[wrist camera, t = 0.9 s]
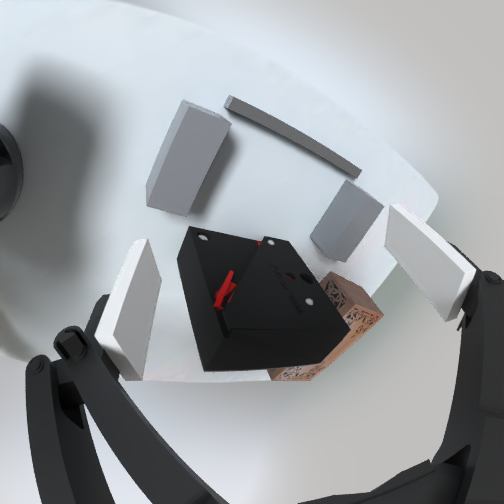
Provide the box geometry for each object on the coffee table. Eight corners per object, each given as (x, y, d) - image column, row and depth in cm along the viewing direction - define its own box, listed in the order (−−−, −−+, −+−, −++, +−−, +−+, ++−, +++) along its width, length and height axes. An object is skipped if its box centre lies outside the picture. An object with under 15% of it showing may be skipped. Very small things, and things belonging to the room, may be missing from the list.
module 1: (146, 185, 35) (146, 206, 31) (182, 99, 30) (189, 106, 25) (180, 195, 38) (186, 216, 33) (219, 114, 32) (231, 123, 28)
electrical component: (172, 269, 45) (198, 380, 30) (193, 214, 40) (231, 325, 25) (264, 282, 54) (311, 371, 39) (290, 238, 49) (354, 326, 34)
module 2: (309, 236, 50) (326, 256, 46) (346, 179, 45) (368, 195, 41) (328, 242, 53) (345, 262, 48) (363, 189, 48) (384, 206, 43)
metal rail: (223, 106, 32) (227, 108, 31) (229, 95, 31) (233, 96, 30) (349, 173, 45) (357, 178, 43) (354, 165, 44) (362, 170, 43)
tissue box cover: (329, 270, 59) (355, 303, 51) (361, 286, 67) (384, 315, 60) (256, 346, 67) (271, 380, 60) (294, 351, 76) (310, 380, 68)
